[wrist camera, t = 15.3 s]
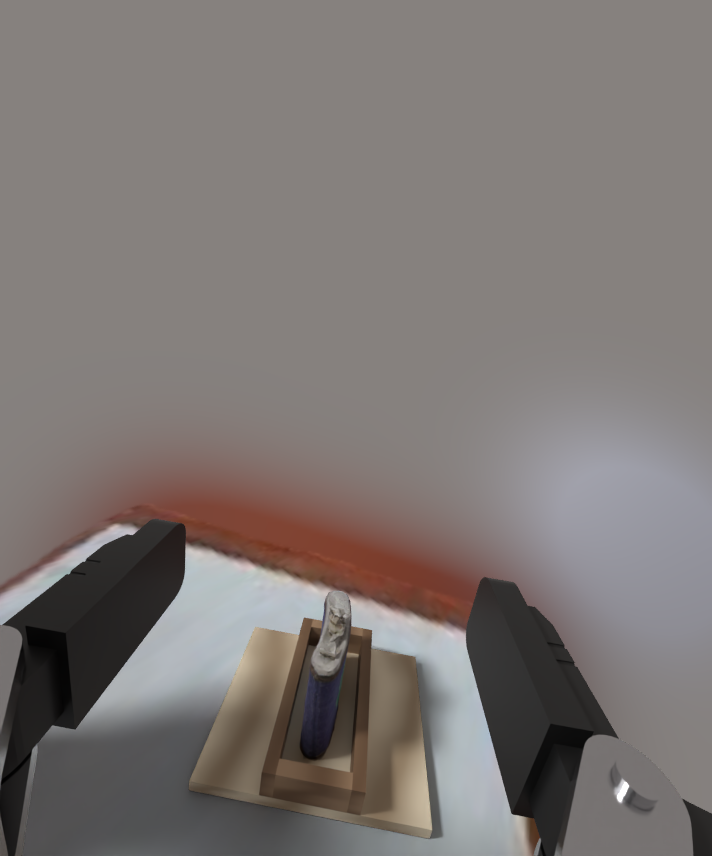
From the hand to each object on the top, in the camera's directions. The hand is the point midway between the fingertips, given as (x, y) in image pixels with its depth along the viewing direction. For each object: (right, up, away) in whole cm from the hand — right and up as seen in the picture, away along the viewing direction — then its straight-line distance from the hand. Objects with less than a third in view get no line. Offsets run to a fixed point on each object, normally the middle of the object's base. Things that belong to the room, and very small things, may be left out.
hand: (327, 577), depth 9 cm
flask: (-2, -22, +23) cm, 32 cm away
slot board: (-2, -23, +23) cm, 32 cm away
